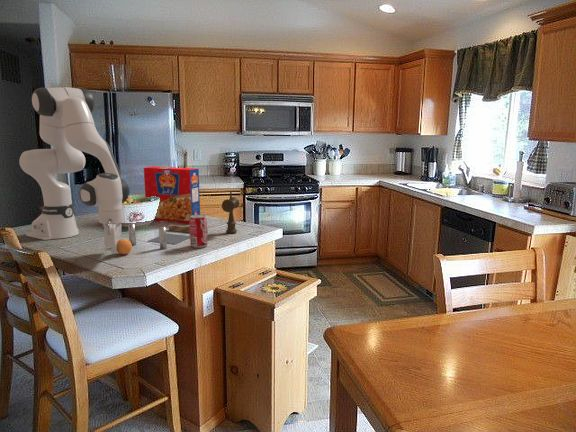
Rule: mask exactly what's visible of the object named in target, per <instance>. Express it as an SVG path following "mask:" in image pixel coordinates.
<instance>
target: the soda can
mask: <svg viewBox="0 0 576 432" xmlns="http://www.w3.org/2000/svg"><path fill="white" fill-rule="evenodd" d="M188 226H190V233H189V236H190V238H189V242H190V244H189V245H190V246H191V247H192V248H194V249H204V248H205V247H207V246H208V244H209V241H208V240H209V237H208V233H207V231H208V220H207V218H206V215H205V214H200V215H192V216H190V220H189V224H188Z"/></svg>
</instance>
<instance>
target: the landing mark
mask: <svg viewBox="0 0 576 432" xmlns="http://www.w3.org/2000/svg"><path fill="white" fill-rule="evenodd" d="M186 240H190V235H187V234H186V235H183V234H176V233H175V234H174V233H166V245H169V244H170V245H177V244H179V243H182V242H184V241H186ZM149 242H151V243H159V244H160V238H159V236H157V237H154V238H151V239H148V243H149Z"/></svg>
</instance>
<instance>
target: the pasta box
mask: <svg viewBox="0 0 576 432" xmlns="http://www.w3.org/2000/svg"><path fill="white" fill-rule="evenodd" d="M199 173H200V170H199V168H194V167H173V166H170V167H169V166H154V165H153V166H147V167H146V166H145V167H143V179H144V181H143V182H144V194H145V195H144V196H145V197H151V196H156V197H159V198H160V202H159V206H158V209H157V213H156V216H155V219H154V221H153V222H160V221H161V222H162V223H171V224H172V223H173V224H181V223H182V225H189V220H190V216H192V215H201V199H200V174H199Z"/></svg>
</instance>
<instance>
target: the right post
mask: <svg viewBox="0 0 576 432" xmlns="http://www.w3.org/2000/svg"><path fill="white" fill-rule="evenodd" d="M166 227H167V226H165V225H164V226H158V232H159V234H158V235H159V236H158V237H159V238H160V243H159V249H160V250H166V249H167V245H168V244H167V243H166V234H167V233H166V232H167V230H166V229H167V228H166Z"/></svg>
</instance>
